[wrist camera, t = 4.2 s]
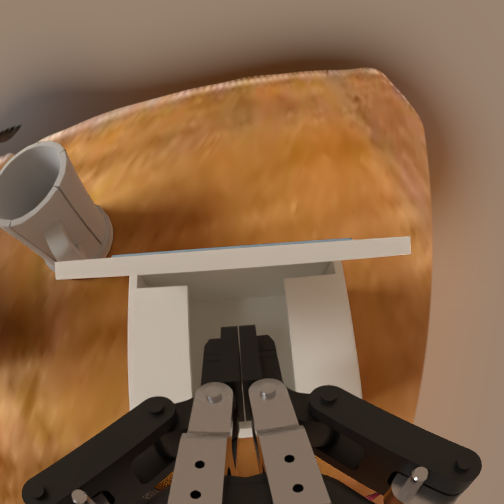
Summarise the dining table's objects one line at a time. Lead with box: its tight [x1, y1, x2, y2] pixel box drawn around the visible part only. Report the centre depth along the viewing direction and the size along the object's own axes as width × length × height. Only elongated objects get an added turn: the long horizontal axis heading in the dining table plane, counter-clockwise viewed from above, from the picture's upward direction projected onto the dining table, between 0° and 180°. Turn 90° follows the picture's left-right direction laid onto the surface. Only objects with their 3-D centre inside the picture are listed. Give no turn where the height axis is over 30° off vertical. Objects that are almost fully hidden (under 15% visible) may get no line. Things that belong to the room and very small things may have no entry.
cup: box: [0, 141, 113, 272], centre depth 27 cm, size 10×9×12 cm
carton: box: [128, 260, 363, 438], centre depth 24 cm, size 12×15×9 cm
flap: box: [54, 236, 411, 280], centre depth 16 cm, size 1×14×10 cm, turn 95°
